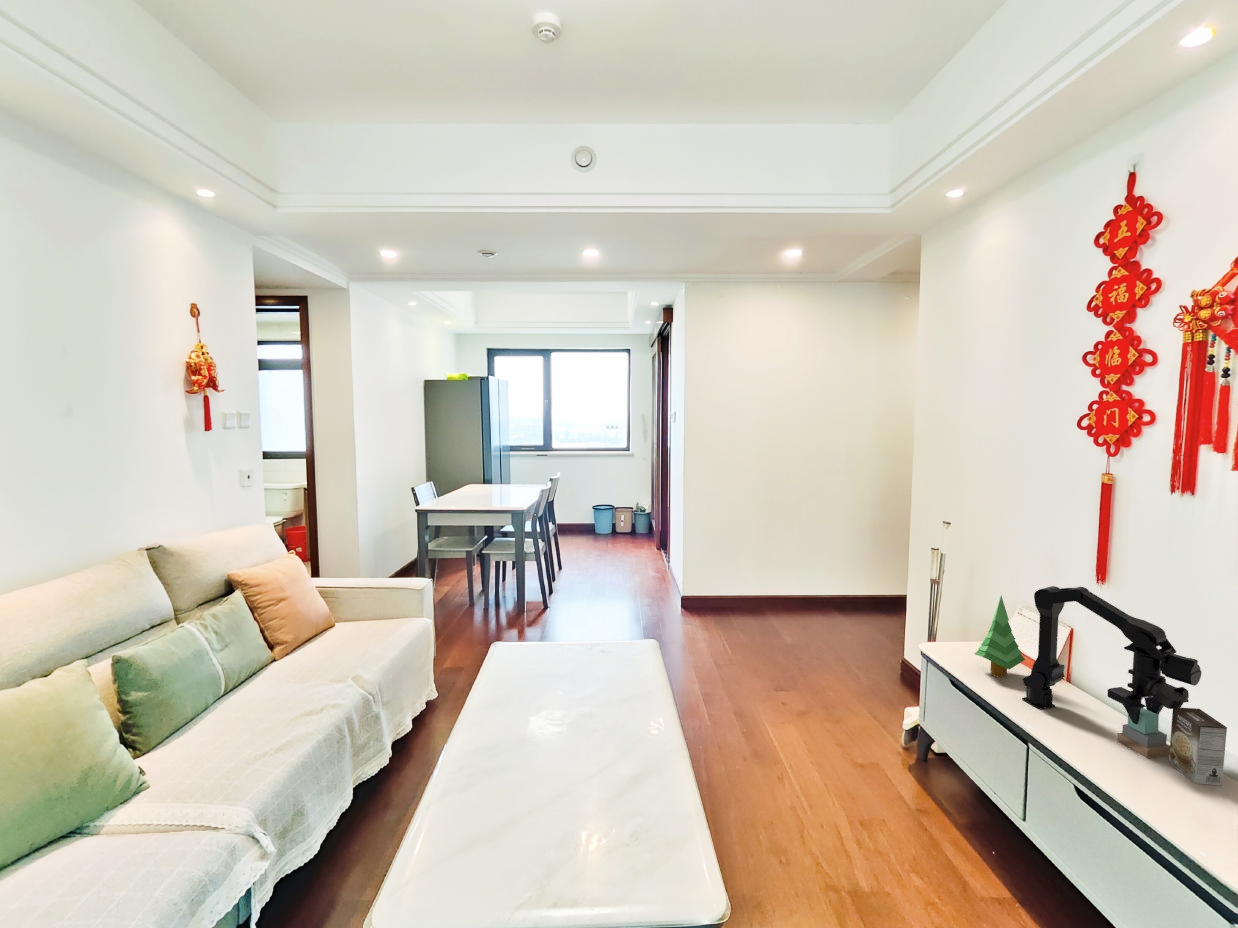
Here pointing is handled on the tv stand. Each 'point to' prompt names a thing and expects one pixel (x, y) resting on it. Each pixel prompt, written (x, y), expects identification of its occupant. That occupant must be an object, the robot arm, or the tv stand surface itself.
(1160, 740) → the charcoal middle block
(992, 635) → the decorative tree
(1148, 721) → the teal block
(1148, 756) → the walnut base block
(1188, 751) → the coffee box
